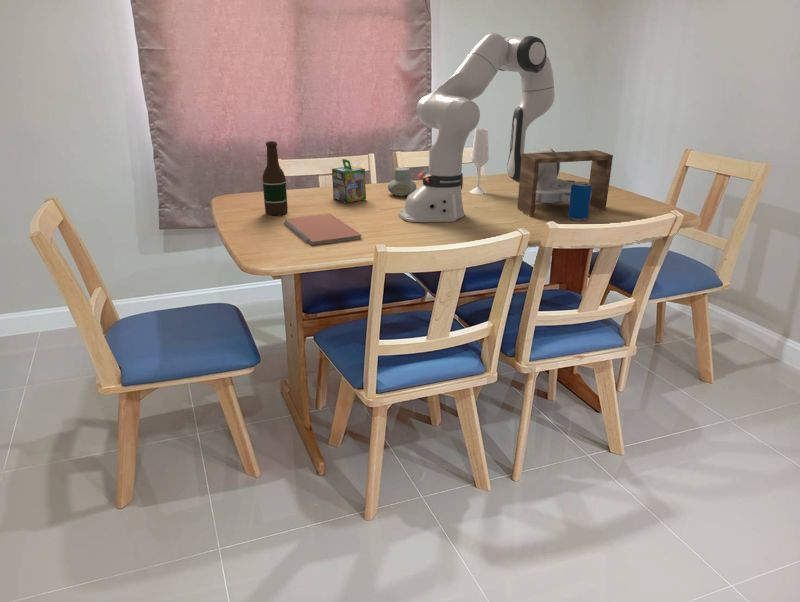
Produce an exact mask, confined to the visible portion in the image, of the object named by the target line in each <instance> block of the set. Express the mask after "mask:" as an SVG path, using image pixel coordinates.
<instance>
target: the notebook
mask: <svg viewBox="0 0 800 602" xmlns="http://www.w3.org/2000/svg"><path fill="white" fill-rule="evenodd" d="M283 225H284V226H286V228H288V230H290V231H291V232H292V233H293V234H295V236H297V237H298V238H299V239H300V240H301V241H303V242H304V243H305V244H306V245H307V244H309V245H311V246H314V245H315V246H316V245H322V244H331V243H338V242H345V241H344V240H347V241H352V240H351V239H354V240H359V239H358V238H362V237H361V236H363V235H362V234H361V233H359V232H358V231H357V230H355V229H354V228H352V227H351V226H349V225H348V224H346V223H345V222H344V221H342V220H341V219H339V218H337V217H336V216H334V215H333V214H332V213H323V214H321V213H320V214H315V215H305V216H304V215H303V216H297V217H296V216H295V217H290V218H284V221H283Z"/></svg>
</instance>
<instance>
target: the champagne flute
mask: <svg viewBox="0 0 800 602" xmlns="http://www.w3.org/2000/svg"><path fill="white" fill-rule="evenodd" d="M471 149H472V150H471V156H470V160H471V162H472V163H473V165H475V167H477V174H476V187H474V188H473V189H471V190H469V193H470V194H473V195H474V194H475V195H484V194H483V193H485V194H487V191H486V190H484V188H482V187H481V172H482V171H481V169H482V167H484V166H485V164H487V163H488V161H489V156H490V155H489V130H488V128H485V127H483V128H482V127H480V128H479V127H478V128H477V127H476V128H475V129H474V135H473V142H472V148H471Z"/></svg>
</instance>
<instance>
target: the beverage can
mask: <svg viewBox="0 0 800 602" xmlns="http://www.w3.org/2000/svg"><path fill="white" fill-rule="evenodd" d="M591 189H592V187H591V184H590V183H589V181H579V180H578V181H577V182H573V185H572V186H571V194H570V203H569V202H568V203H569V205H568V213H567V217H568V218H569V219H570V218H571V219H570V220H572V219H573V221H576V220H577V222H579V221H582V220H583V221H585V220H586V219H588V218H589V211H590V206H589V204H590V196H591Z"/></svg>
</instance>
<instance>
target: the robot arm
mask: <svg viewBox="0 0 800 602" xmlns="http://www.w3.org/2000/svg"><path fill="white" fill-rule="evenodd" d="M546 47H547V46H546V45H545V43H544V41H543V40H542V39H541V38H539V37H537V36H534V35H527V36H524V35H513V36H508V37H507V36H506V37H503V36H502V35H501V34H499V33H495V32H489V33H487V34H486V35H484V36H483V37H482V38H481V39H480V40H479V41H478V42H477V43H476V44H475V45H474V47H472V49H470V51H469V52H468V53H467V55H466V57H465V58H464V60H463V61H462V62H461V63H460V65H459V66H458V67H457V69H456V70H455V71H454V72H453V73H452V75H451V76H449V78H448V79H447V80H445V81H444V82H443V83H442V84H440V85H439V86H438V87H437V88H435V90H433V91H432V92H430V93H428V94H426V95H424V96H422V97H421V98H420V99H419V101H418V102H417V105H416V109H415V110H416V111H415V112H416V117H417V119H418V121H420V123H421V124H423V125H425V126H427V127H429V128H431V129H435V130H438V135H437V138H436V141H435V143H434V144H433V145H431V147H430V148H429V150H428V172H427V173H426V174H424V173H423V172H420V173H419V174H418V179H419V180H421V181H422V184H421V185H420V186H419V187H417V188H416V190H415V191H414V192H412V193H411V194H410V195H409V196H406V200H405V204H404V205H405V206H404V208H400V209H399V210H398V216H399V217H400V218H401V219H403V220H404V221H406V222H410V223H438V222H439V223H440V222H441V223H443V222H444V223H445V222H449V223H451V222H456V221H457V220H458V219H461V218H464V217H465V214H466V213H465V210H464V206H463V205H464V204H463V196H462V190H463V187H464V174H463V171H462V170H463V156H464V155H463V154H464V149H465V145H466V143H467V140H468V137H469V136H470V134H471V133H472V132H473V131H475V129H476V128H477V126H478V125H479V122H480V118H481V110H480V108H479V106H478V104H477V103H476V102H474V101H473V100H475V99H477V98H478V97H480V96H481V95H482V94H484V92H485V90H486V89H487V88H488V86H489V85H490V84H491V82H492V81H493V80H494V78H495V76H496V75H497V73H499V71H500V72H501V71H502V72H505V71H507V72H514V73H515V72H516V73H519V75H520V78H521V79H520V84H521V85H520V87H521V95H520V96H521V97H520V101H519V104H518V106H517V107H515V108H514V111H513V115H512V121H511V122H512V123H511V132H510V133H511V134H510V144H509V155H508V161H507V164H506V167H507V169H506V171H507V174H508V177H509V178H510V179H511V180H513V181H514V182H516V183H519V181H520V169H521V157H522V154H525V153H547V152H555V150H553V149H552V148H551V147H544V148H538V149H535V150H531V151H527V152H525V144H526V132H527V129H528V128H529V126H530V125H531V124H532V123H533V122H534V121H536V120H537V119H539V117H541V116H543V115H544V114H546V113H547V112H548V111H549V110H550V109H551V107H552V106H553V105H554V100H555V83H554V72H553V68H552V63H551V60H550V57H548V56H547V48H546ZM560 167H561V162H556V163H539V168H538V179H537V190H536V201H535V202H536V203H539V204H540V203H541V204H552V205H558V204H559V203H564V202H565V203H570V194H571V186H572V185H573V182H578V180H577V181H576V180H569V179H563V178H562V179H561V178H558V176H559V173H560V169H561V168H560ZM591 196H592V190H591ZM591 196H590V199H591Z"/></svg>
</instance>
